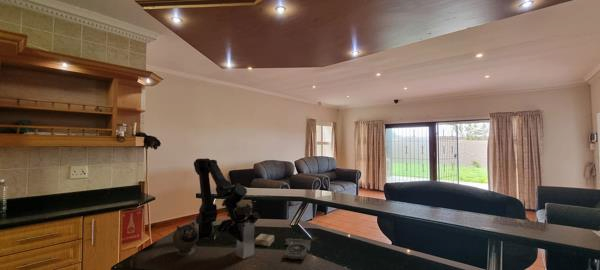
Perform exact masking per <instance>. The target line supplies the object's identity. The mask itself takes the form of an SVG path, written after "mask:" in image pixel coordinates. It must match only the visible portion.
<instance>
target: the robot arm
mask: <svg viewBox="0 0 600 270" xmlns="http://www.w3.org/2000/svg"><path fill="white" fill-rule="evenodd" d="M193 167H194V171H195V173H196V174H197V176H198V177H199V187H200V189H199V190H200V197H201V204H200V207H199V211H198V215H197V216H196V217H195V224H197V225H198V229H197V231H198V233H199V237H210V236H212V234H213V233H214V231H215V230H214V229H215V228H214V227H215V224H214V222H217V221H216V220H217V219H218V207H217V204H215V203H214V202H213V199H212V190H211V189H212V188H211V181H210V177H211V178H212V180H213V182H214V184H215V186H216V187H215V193H216V196H217V197H218V198H219V199H223V198H224V199H223V201H222V203H221V207H225V209H226V211H227V214H226V215H227V216H226V217H228V218H229V219H225V220H222V221H221V223H220V224H219V225H218V227H217V230H218V232H219V234H222V233H226V234H229V235H231V236H232V237H233V238H235V239H236V241H237V240H239V241H240V242H242V241H243V240H242V237H241V235H240V232H239V230H238V224H242V223H245V222H250V223H253V224H256V222H257V221H259V219H260V218H261V216H260V213H259V212H253V213H252V211H253V210H254V206H253V204H252V203H250V202H249V203H247V204H246V205H244V206H243V205H240V202H241V201H242V200H243V199H244V198H245V196H246V195H247V193H248V190H247V188H246V186H244V185H241V184H240V182H238V183H235V184H234V185H233V183H231V181H229V180H227V179H226V178H225V175H224V174H223V172H222V170H221V168H220V167H219V165H218V161H217V160H216V159H210V158H209V157H208V158H196V159H195V161H193ZM210 175H211V176H210ZM248 214H249V215H248Z"/></svg>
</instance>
